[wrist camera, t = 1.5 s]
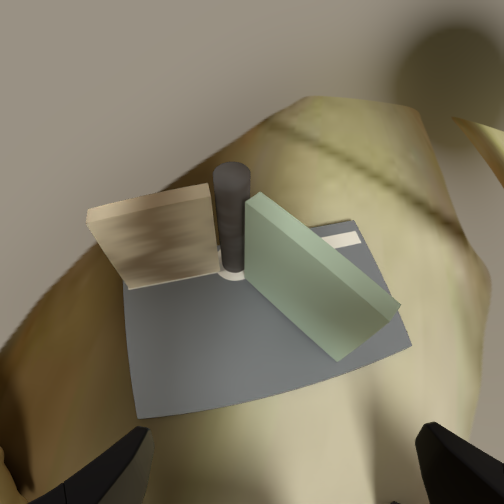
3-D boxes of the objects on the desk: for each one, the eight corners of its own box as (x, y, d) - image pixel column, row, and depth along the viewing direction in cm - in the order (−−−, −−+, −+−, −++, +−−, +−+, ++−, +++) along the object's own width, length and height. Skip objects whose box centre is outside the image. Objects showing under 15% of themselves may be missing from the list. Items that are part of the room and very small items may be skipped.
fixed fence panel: (129, 294, 23) (78, 219, 15) (128, 271, 24) (83, 193, 16) (250, 270, 25) (254, 183, 16) (244, 249, 26) (245, 159, 18)
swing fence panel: (244, 277, 24) (245, 201, 16) (255, 268, 24) (260, 191, 17) (337, 362, 20) (389, 321, 13) (346, 350, 21) (401, 304, 13)
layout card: (139, 418, 18) (137, 418, 18) (124, 267, 25) (122, 264, 25) (409, 347, 22) (412, 345, 21) (352, 223, 29) (354, 219, 28)
